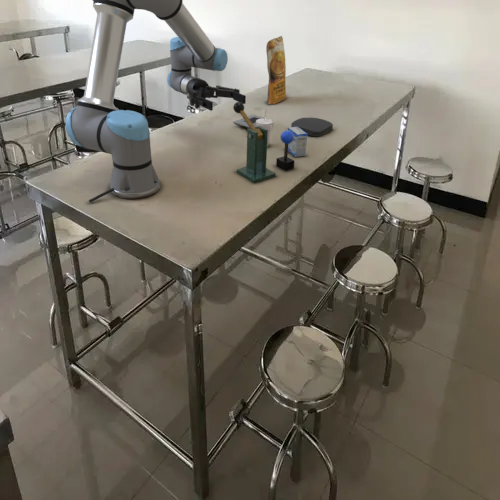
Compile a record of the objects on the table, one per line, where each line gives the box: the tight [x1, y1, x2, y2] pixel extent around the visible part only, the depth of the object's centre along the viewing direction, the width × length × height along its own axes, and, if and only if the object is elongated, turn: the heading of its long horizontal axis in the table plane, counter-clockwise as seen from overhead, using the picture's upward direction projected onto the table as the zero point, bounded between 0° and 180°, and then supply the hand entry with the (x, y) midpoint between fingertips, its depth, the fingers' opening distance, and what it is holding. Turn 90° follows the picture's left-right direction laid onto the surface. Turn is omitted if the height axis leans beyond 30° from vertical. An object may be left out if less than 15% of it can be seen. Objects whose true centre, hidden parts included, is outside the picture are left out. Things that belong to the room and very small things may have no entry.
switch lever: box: [232, 101, 263, 140], centre depth 158 cm, size 15×4×4 cm
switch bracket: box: [236, 126, 276, 184], centre depth 160 cm, size 10×9×16 cm
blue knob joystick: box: [275, 130, 295, 172], centre depth 166 cm, size 4×5×13 cm
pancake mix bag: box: [265, 35, 287, 105], centre depth 227 cm, size 7×19×28 cm, turn 149°
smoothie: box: [256, 108, 274, 148], centre depth 182 cm, size 6×6×14 cm
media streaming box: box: [290, 117, 334, 137], centre depth 201 cm, size 15×15×3 cm
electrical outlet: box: [232, 114, 268, 129], centre depth 203 cm, size 13×10×2 cm
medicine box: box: [287, 126, 309, 158], centre depth 179 cm, size 8×4×9 cm, turn 23°
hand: (228, 103), depth 164 cm, fingers open, 13 cm apart
